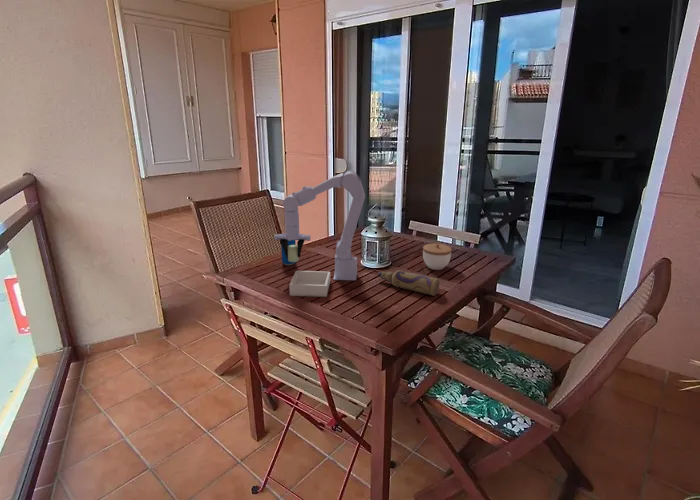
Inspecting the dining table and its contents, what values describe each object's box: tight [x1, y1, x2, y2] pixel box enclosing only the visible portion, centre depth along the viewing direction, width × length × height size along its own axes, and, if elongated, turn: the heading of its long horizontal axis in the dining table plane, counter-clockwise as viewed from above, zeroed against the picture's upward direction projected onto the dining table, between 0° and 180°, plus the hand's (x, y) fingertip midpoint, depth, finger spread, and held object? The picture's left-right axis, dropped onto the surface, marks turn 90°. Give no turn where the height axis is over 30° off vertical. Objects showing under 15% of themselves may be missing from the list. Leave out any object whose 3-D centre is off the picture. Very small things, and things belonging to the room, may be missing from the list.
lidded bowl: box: [422, 242, 453, 271], centre depth 179 cm, size 13×13×11 cm
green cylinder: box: [287, 244, 300, 263], centre depth 166 cm, size 4×4×6 cm
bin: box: [289, 270, 331, 298], centre depth 156 cm, size 14×14×5 cm
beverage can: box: [280, 240, 297, 266], centre depth 181 cm, size 6×6×12 cm
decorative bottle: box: [377, 270, 440, 297], centre depth 158 cm, size 26×8×7 cm, turn 56°
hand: (293, 256), depth 166 cm, fingers closed on green cylinder, 4 cm apart
